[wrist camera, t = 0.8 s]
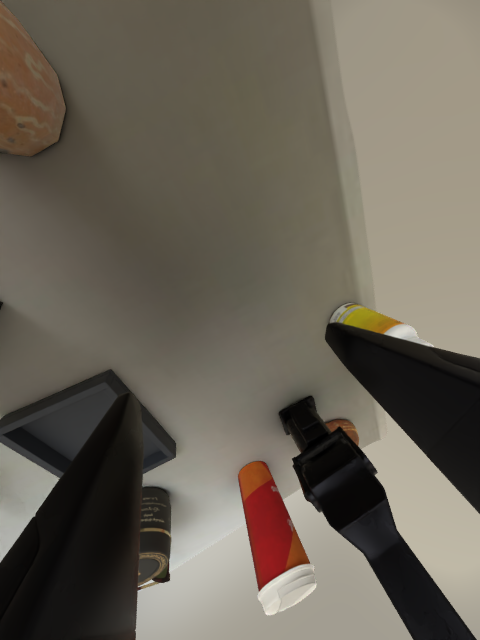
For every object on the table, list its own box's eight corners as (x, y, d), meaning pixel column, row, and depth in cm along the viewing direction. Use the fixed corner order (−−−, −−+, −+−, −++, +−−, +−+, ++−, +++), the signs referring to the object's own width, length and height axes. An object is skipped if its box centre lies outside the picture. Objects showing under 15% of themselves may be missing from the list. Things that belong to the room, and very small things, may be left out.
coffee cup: (264, 482, 41) (305, 602, 27) (227, 488, 38) (253, 626, 24) (278, 454, 38) (331, 573, 25) (238, 458, 35) (275, 595, 22)
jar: (111, 486, 29) (90, 563, 22) (179, 481, 33) (179, 545, 26) (100, 526, 32) (79, 604, 25) (164, 517, 36) (160, 583, 29)
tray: (176, 443, 29) (175, 457, 27) (99, 481, 28) (93, 498, 26) (111, 369, 22) (104, 381, 20) (3, 416, 21) (-14, 434, 19)
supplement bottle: (319, 329, 28) (386, 375, 19) (343, 295, 27) (426, 327, 18) (343, 341, 30) (412, 387, 21) (366, 310, 29) (449, 346, 20)
